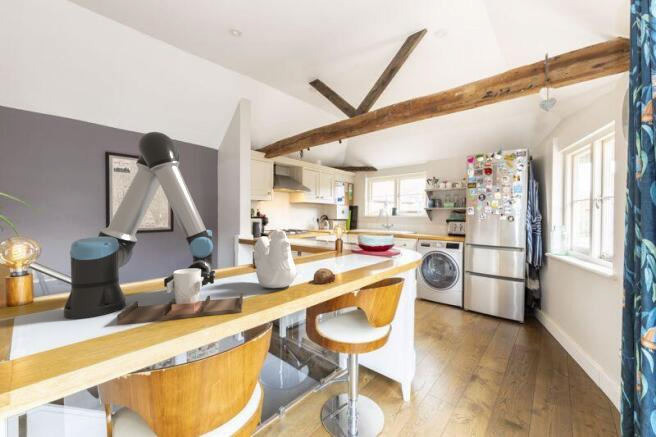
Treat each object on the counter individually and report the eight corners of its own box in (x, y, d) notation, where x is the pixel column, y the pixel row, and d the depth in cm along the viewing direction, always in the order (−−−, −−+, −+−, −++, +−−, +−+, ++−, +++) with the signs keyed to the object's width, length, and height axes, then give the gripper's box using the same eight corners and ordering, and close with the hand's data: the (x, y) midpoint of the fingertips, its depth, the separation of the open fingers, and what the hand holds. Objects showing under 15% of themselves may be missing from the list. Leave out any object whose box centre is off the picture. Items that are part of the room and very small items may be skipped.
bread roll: (314, 287, 126) (307, 272, 125) (332, 276, 129) (325, 262, 128) (321, 293, 117) (314, 277, 115) (340, 281, 120) (333, 265, 119)
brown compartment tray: (117, 324, 74) (117, 310, 74) (135, 310, 86) (135, 297, 86) (241, 312, 83) (241, 299, 83) (242, 300, 95) (242, 289, 95)
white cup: (189, 306, 80) (189, 273, 80) (167, 305, 82) (167, 272, 81) (206, 298, 88) (206, 268, 88) (186, 297, 89) (185, 267, 89)
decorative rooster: (303, 288, 111) (303, 229, 111) (268, 294, 102) (267, 230, 102) (278, 277, 131) (277, 227, 131) (246, 281, 122) (246, 228, 122)
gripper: (226, 279, 105) (220, 296, 83) (168, 283, 99) (145, 302, 77) (226, 260, 105) (219, 272, 83) (168, 263, 99) (144, 277, 77)
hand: (183, 287), depth 80 cm, fingers closed on white cup, 7 cm apart
